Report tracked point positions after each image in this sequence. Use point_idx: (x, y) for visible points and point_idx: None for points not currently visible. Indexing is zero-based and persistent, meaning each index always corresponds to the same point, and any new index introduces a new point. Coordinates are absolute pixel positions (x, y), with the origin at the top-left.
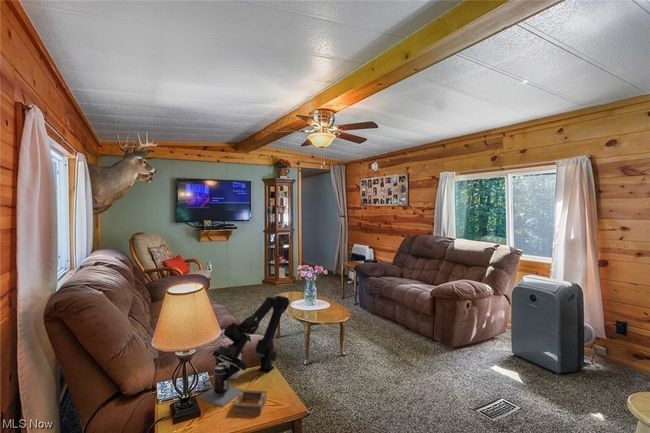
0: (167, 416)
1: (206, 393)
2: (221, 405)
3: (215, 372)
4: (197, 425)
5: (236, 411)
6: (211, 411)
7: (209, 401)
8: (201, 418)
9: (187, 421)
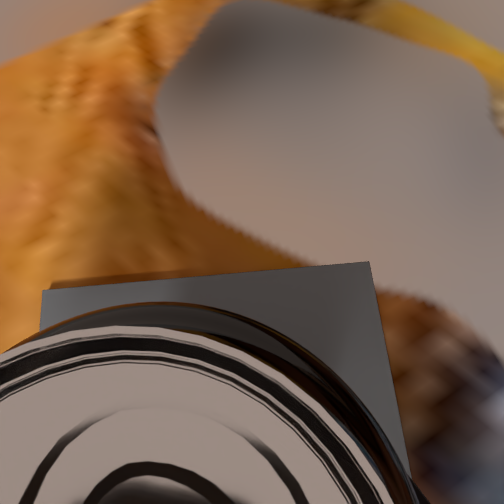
0: (351, 13)
1: (366, 363)
2: (62, 293)
3: (176, 302)
4: (80, 48)
5: None
6: (101, 199)
7: (220, 278)
8: (111, 106)
9: (179, 42)
